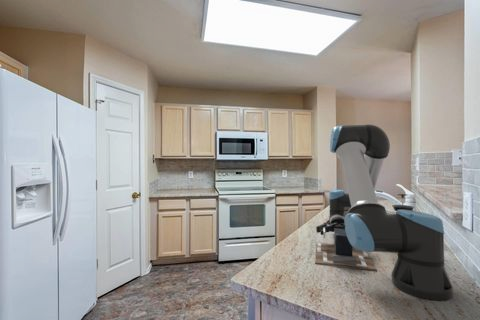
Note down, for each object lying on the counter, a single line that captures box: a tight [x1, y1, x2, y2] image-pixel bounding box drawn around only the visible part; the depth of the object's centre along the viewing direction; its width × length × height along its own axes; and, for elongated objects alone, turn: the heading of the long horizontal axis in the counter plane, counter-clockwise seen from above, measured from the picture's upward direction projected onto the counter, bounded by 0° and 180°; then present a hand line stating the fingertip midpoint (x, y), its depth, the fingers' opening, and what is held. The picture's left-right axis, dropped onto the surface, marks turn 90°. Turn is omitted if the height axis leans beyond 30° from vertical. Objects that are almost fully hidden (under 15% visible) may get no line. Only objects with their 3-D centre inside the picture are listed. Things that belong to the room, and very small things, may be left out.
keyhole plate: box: [314, 242, 377, 272], centre depth 100 cm, size 24×21×4 cm
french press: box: [392, 193, 415, 215], centre depth 118 cm, size 12×9×23 cm
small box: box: [333, 228, 352, 256], centre depth 96 cm, size 11×6×10 cm, turn 161°
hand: (341, 236), depth 97 cm, fingers open, 13 cm apart
